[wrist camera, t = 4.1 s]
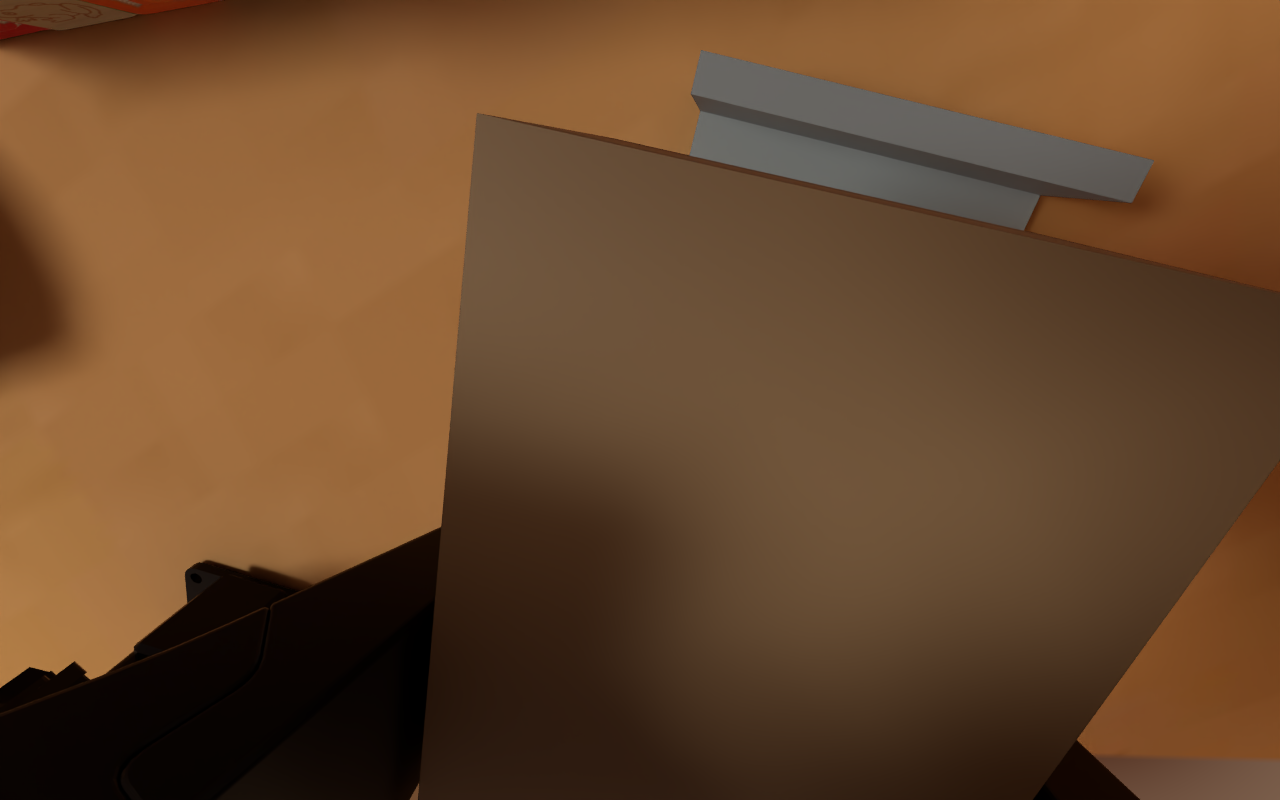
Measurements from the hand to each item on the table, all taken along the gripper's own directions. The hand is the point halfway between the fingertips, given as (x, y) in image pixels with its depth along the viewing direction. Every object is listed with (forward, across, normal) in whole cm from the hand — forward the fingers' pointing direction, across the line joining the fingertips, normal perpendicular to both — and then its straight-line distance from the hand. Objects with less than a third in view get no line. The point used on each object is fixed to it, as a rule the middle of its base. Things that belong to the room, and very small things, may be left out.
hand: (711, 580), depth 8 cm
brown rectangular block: (+1, 0, 0) cm, 1 cm away
